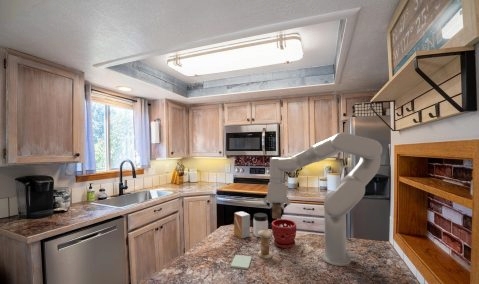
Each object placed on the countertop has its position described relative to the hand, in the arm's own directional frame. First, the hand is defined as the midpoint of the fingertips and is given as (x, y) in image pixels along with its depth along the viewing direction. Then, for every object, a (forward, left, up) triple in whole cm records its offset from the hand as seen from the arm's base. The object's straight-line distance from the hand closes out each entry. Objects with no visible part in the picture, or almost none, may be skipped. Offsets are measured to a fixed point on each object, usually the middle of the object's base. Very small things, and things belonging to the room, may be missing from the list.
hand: (276, 215), depth 115 cm
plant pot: (-4, -6, -18) cm, 19 cm away
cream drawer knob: (+5, +8, -17) cm, 20 cm away
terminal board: (+15, +17, -17) cm, 29 cm away
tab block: (0, 0, -1) cm, 1 cm away
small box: (+21, -14, -18) cm, 31 cm away
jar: (+10, -17, -18) cm, 27 cm away
